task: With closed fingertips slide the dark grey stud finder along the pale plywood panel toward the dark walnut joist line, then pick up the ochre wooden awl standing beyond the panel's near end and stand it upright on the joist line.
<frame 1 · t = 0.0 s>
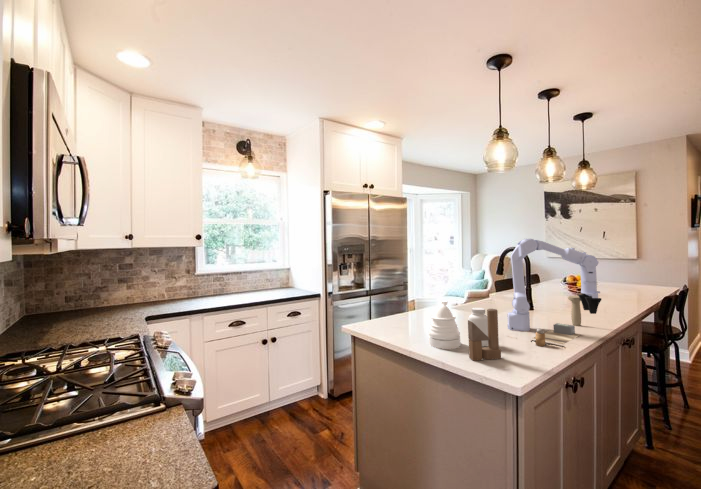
hand: (589, 311, 149), 10 cm above the countertop, tool pointing down, fingers open, 7 cm apart
panel: (556, 339, 143), on the countertop
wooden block: (485, 359, 123), on the countertop
handle: (576, 328, 161), on the countertop
honey pot: (444, 344, 142), on the countertop
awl: (540, 345, 136), on the countertop
pill bottle: (479, 344, 140), on the countertop
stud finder: (564, 333, 148), point 1 cm above the countertop, touching panel
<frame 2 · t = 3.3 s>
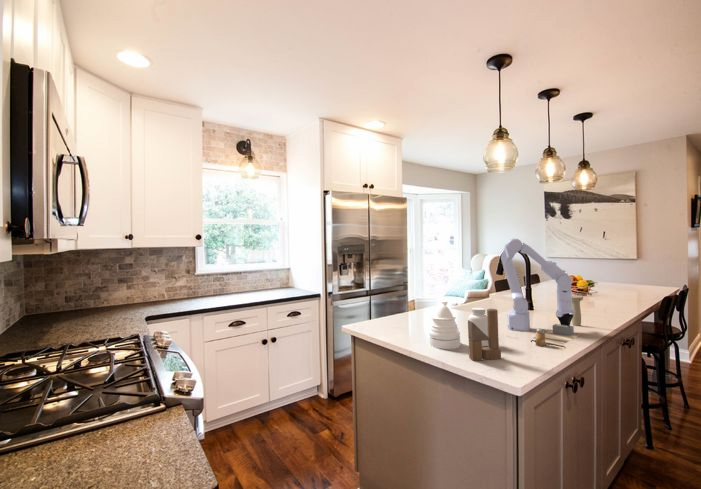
hand: (565, 330, 149), 2 cm above the countertop, tool pointing down, fingers closed
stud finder: (563, 333, 147), point 1 cm above the countertop
everything else where it was.
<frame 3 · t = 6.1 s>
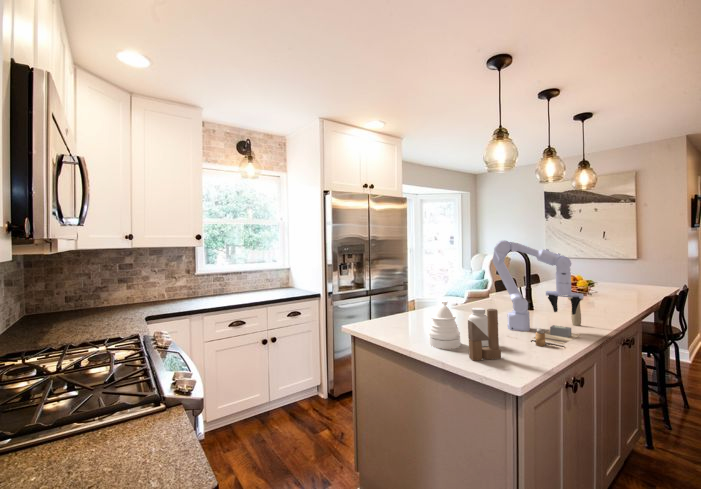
hand: (564, 313, 149), 10 cm above the countertop, tool pointing down, fingers open, 7 cm apart
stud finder: (560, 335, 145), point 1 cm above the countertop, touching panel
everything else where it was.
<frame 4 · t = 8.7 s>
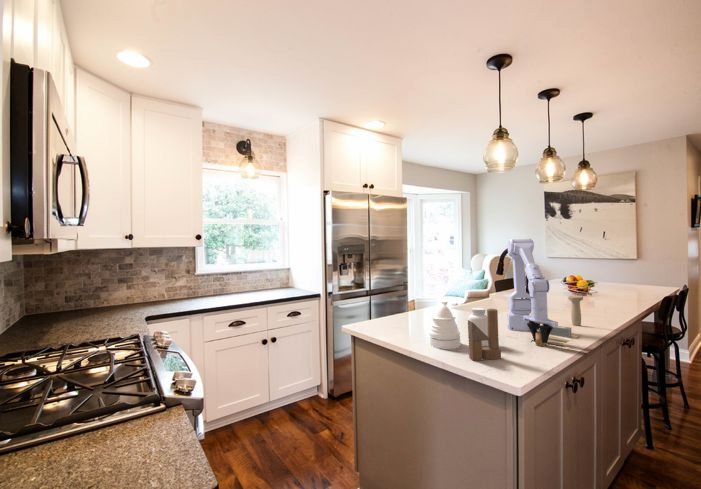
hand: (540, 341, 136), 2 cm above the countertop, tool pointing down, fingers closed on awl, 3 cm apart
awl: (540, 345, 136), on the countertop, touching gripper
everything else where it was.
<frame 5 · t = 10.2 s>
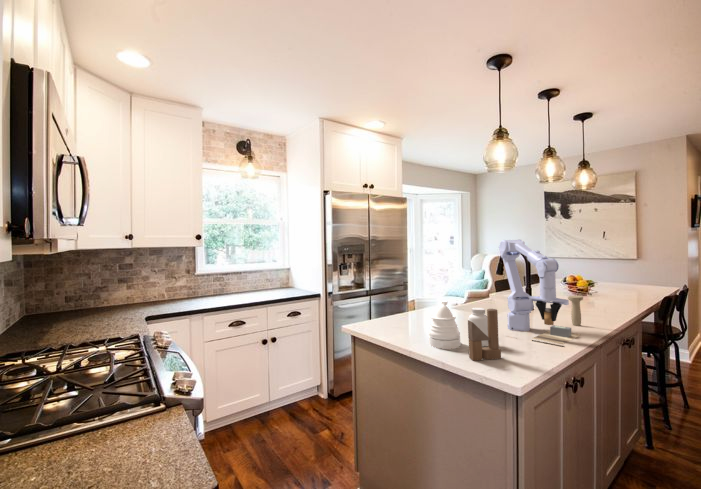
hand: (548, 320, 139), 9 cm above the countertop, tool pointing down, fingers closed on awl, 3 cm apart
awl: (548, 324, 139), point 8 cm above the countertop, touching gripper
everything else where it was.
when the fingers open (4 cm above the countertop, at t = 11.7 s): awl stays where it is, resting on panel.
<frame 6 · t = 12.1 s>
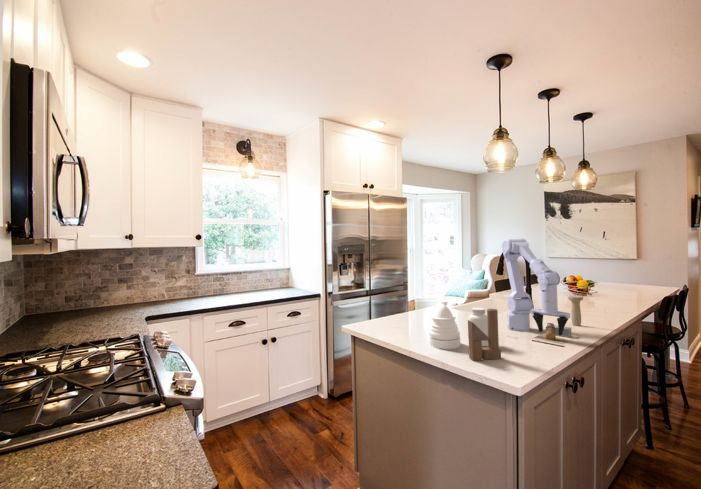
hand: (550, 333, 140), 4 cm above the countertop, tool pointing down, fingers open, 7 cm apart
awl: (550, 339, 140), point 1 cm above the countertop, touching panel
everything else where it was.
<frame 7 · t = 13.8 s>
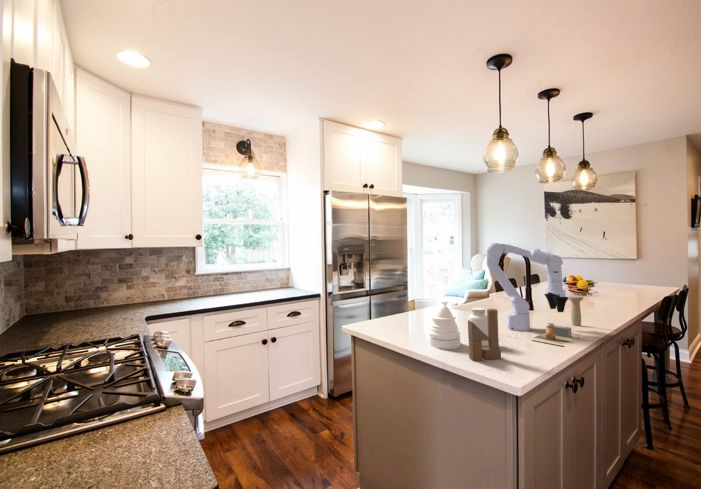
hand: (556, 310, 153), 10 cm above the countertop, tool pointing down, fingers open, 7 cm apart
nothing on the countertop moved.
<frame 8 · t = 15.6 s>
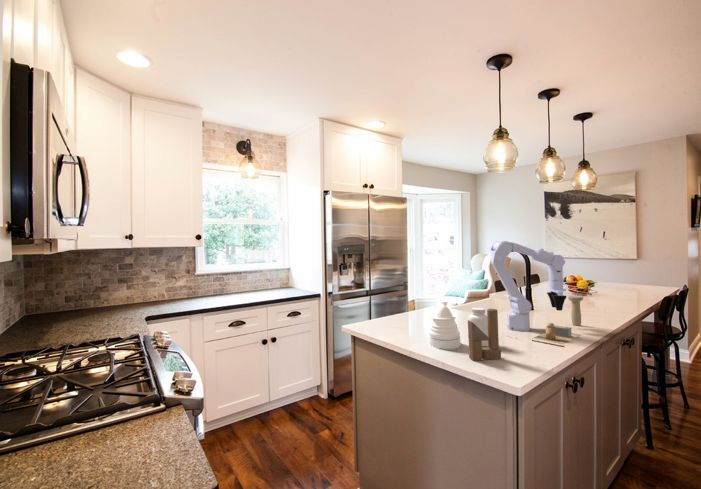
hand: (556, 308, 156), 10 cm above the countertop, tool pointing down, fingers open, 7 cm apart
nothing on the countertop moved.
at the end: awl 0.0 cm from the target spot, point 1.2 cm above the countertop; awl tilted 0°; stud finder moved 5.0 cm from its start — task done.
